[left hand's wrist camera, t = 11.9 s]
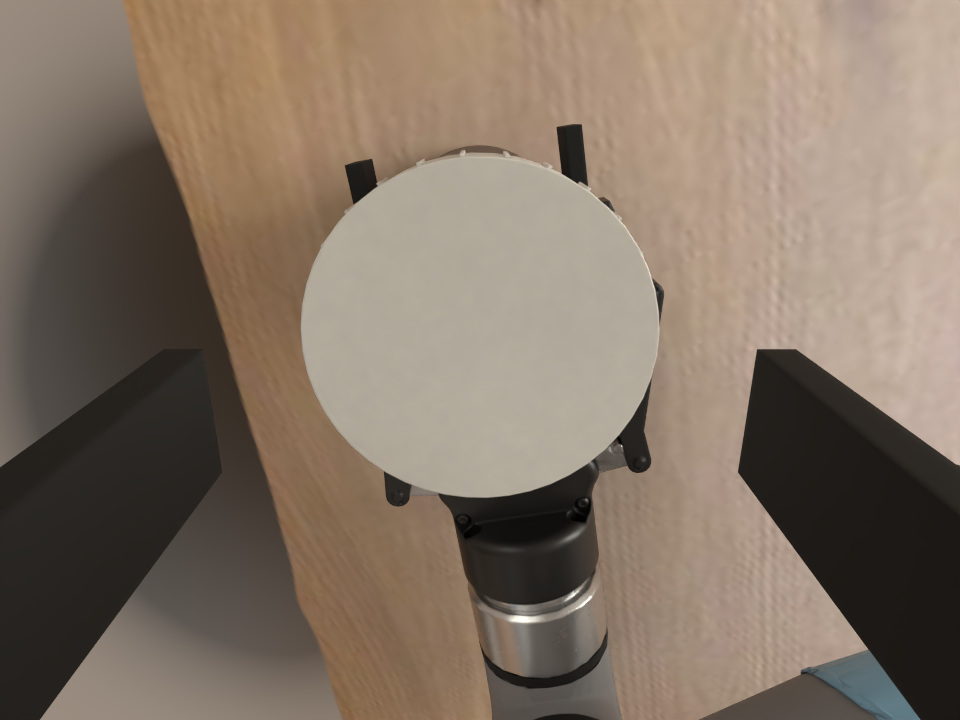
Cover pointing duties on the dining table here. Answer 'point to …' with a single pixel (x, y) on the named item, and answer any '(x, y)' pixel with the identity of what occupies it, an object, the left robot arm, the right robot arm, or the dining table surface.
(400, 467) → the lid
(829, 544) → the left robot arm
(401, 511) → the dining table surface
